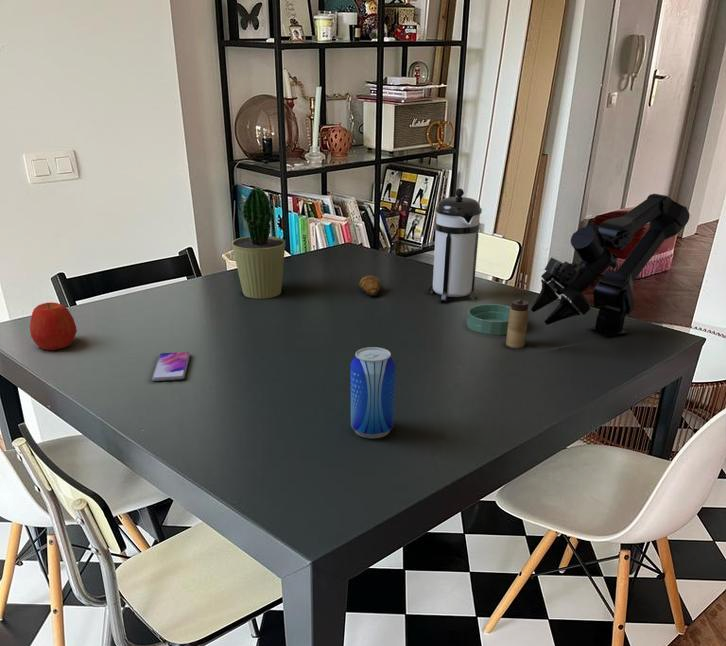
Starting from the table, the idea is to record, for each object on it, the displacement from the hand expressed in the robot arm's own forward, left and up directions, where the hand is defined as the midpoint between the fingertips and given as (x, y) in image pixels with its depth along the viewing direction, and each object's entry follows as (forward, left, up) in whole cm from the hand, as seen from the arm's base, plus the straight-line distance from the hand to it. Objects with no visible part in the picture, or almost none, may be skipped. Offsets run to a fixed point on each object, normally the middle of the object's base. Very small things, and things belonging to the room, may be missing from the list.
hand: (538, 316), depth 180 cm
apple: (+109, -49, -7) cm, 119 cm away
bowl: (+3, -15, -7) cm, 17 cm away
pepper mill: (+5, -1, -7) cm, 9 cm away
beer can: (+57, +25, -7) cm, 63 cm away
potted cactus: (+49, -68, -7) cm, 84 cm away
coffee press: (-1, -43, -7) cm, 44 cm away
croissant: (+19, -56, -7) cm, 60 cm away
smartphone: (+86, -22, -7) cm, 89 cm away
